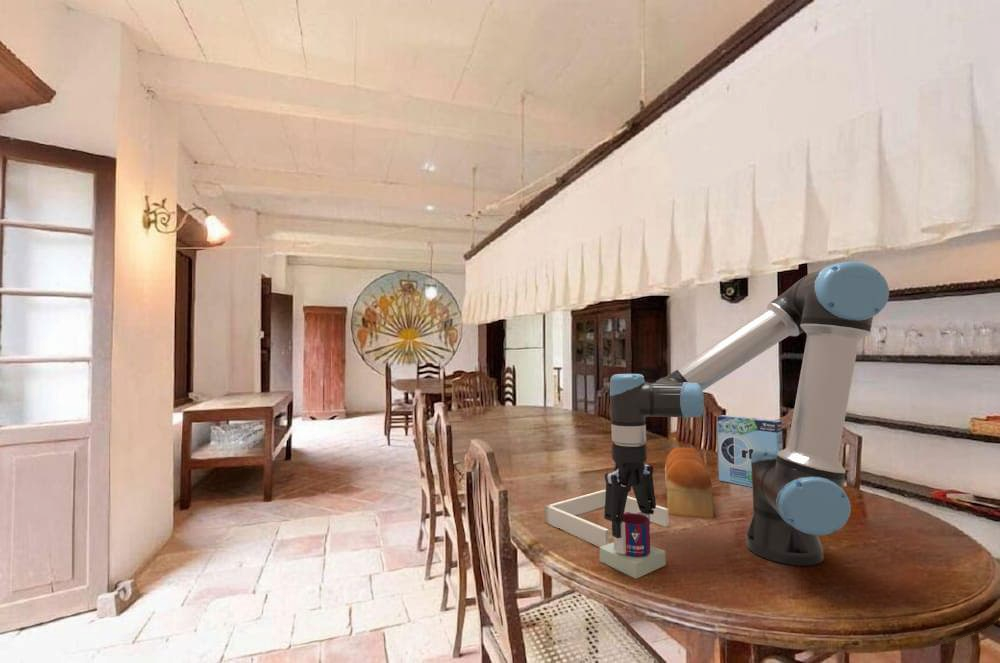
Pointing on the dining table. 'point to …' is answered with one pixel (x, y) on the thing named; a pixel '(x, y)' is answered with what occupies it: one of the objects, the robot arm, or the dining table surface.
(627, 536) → the mug
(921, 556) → the dining table surface
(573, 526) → the white u-shaped frame
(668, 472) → the bread
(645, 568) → the stand
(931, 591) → the dining table surface
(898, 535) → the dining table surface
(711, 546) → the dining table surface
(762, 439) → the gum box
